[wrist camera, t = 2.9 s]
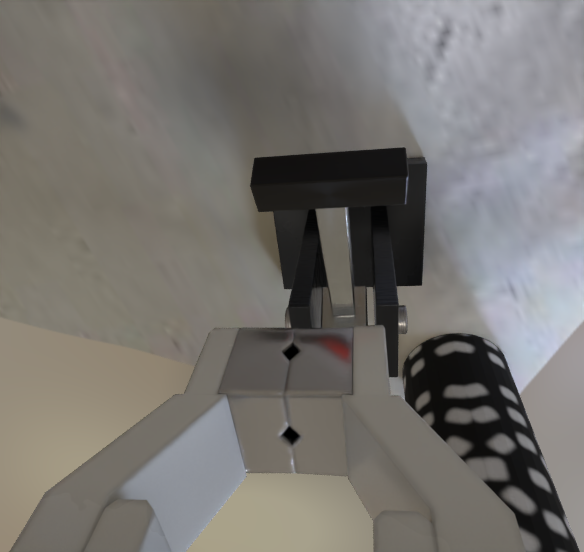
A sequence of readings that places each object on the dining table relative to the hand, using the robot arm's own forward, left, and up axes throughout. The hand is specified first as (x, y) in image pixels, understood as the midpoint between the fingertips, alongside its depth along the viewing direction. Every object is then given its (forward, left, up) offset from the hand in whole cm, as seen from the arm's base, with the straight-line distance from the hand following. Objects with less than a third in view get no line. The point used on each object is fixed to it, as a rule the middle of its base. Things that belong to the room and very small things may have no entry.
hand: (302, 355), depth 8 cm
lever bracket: (0, +9, -24) cm, 26 cm away
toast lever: (0, +4, -12) cm, 13 cm away
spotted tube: (-8, +23, -24) cm, 34 cm away
